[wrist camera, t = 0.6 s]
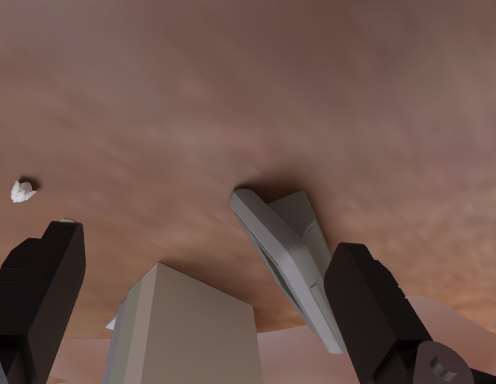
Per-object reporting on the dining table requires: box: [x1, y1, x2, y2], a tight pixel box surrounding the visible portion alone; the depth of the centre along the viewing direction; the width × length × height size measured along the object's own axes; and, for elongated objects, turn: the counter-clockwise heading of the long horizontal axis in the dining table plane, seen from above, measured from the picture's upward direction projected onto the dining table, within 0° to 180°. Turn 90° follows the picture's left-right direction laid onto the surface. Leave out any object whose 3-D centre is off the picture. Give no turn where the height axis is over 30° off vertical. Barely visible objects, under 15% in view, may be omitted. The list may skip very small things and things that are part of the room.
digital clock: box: [229, 189, 347, 354], centre depth 32 cm, size 16×9×11 cm, turn 12°
